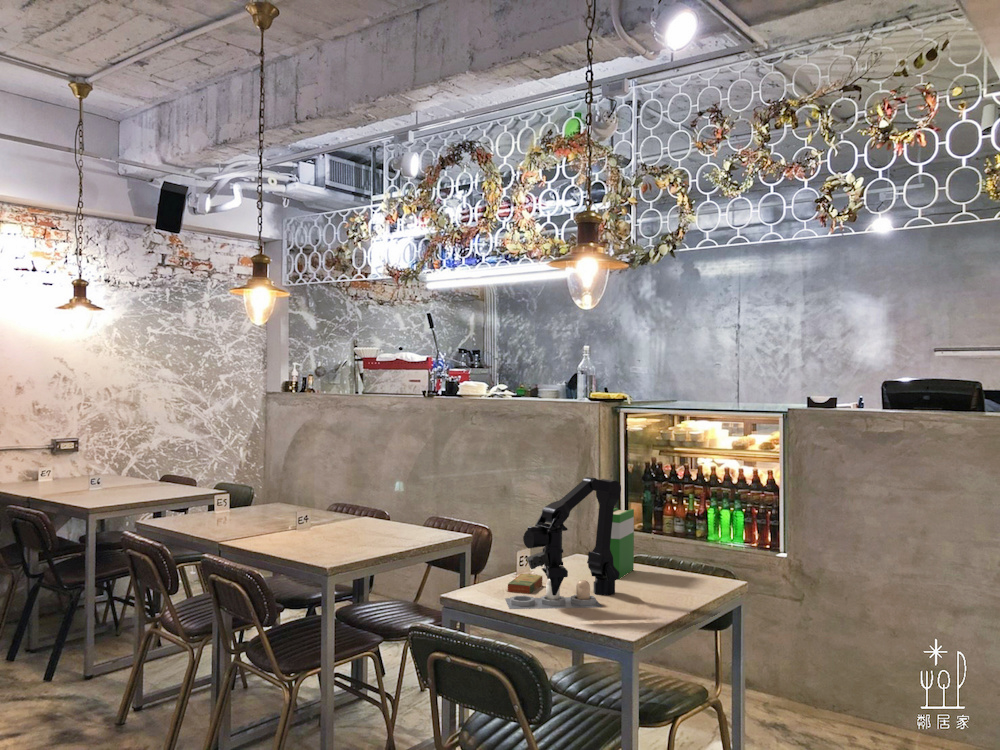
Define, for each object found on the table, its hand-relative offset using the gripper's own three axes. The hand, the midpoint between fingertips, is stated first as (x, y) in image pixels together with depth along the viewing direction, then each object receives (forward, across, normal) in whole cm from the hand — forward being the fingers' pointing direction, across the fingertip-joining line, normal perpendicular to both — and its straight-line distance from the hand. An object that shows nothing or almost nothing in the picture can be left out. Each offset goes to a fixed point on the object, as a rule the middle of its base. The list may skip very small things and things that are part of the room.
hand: (552, 593), depth 253 cm
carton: (+5, -21, -6) cm, 22 cm away
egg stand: (+4, 0, 0) cm, 4 cm away
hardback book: (+4, -44, +33) cm, 55 cm away
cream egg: (+2, 0, 0) cm, 2 cm away
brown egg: (+3, 0, +10) cm, 10 cm away
